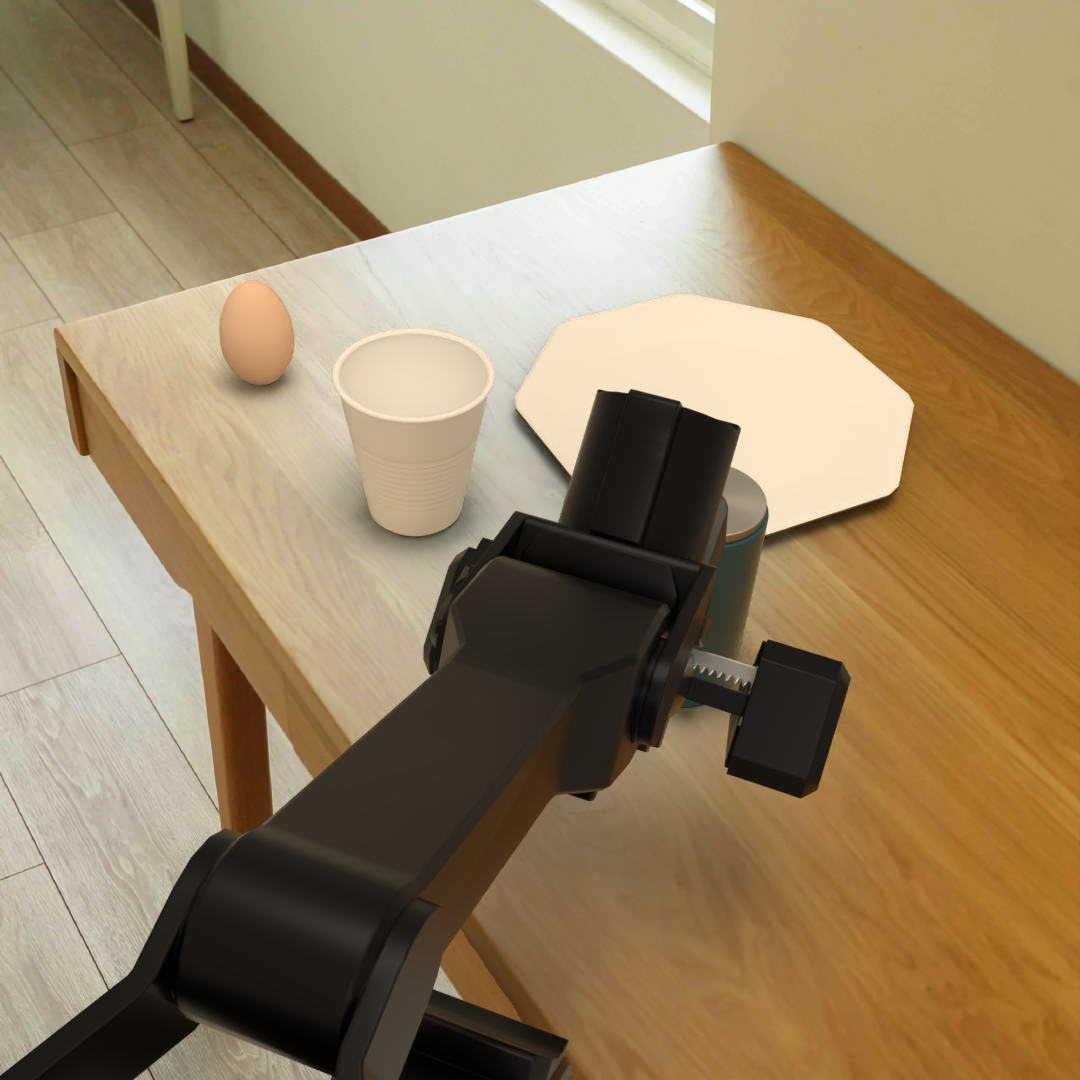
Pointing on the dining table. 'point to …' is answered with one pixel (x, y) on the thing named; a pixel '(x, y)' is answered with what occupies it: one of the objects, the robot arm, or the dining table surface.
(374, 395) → the cup
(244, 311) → the egg
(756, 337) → the plate
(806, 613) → the dining table surface
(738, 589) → the can
